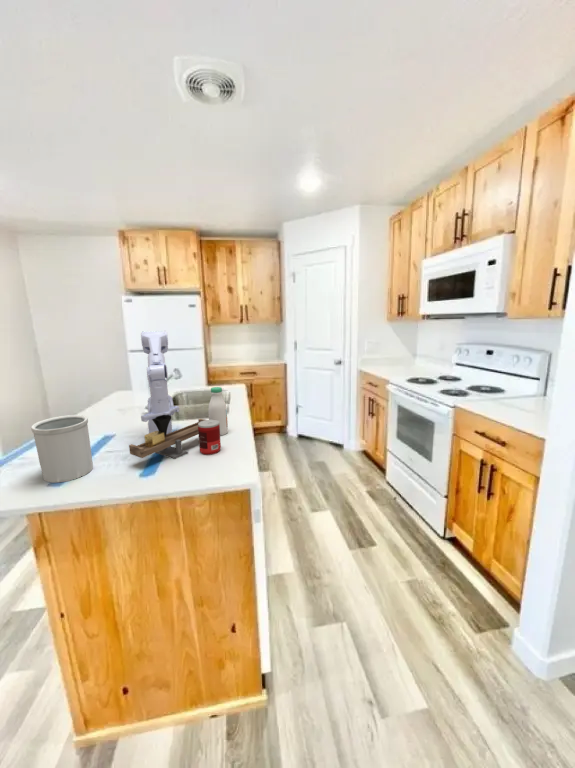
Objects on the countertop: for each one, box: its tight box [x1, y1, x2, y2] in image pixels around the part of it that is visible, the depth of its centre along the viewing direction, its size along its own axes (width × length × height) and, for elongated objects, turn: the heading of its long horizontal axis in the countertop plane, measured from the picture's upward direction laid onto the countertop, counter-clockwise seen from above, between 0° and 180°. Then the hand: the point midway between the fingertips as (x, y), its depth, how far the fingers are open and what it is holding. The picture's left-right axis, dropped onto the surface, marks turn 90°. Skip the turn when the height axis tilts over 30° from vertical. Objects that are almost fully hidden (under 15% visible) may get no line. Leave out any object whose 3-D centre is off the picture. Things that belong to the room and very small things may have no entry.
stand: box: [155, 440, 189, 460], centre depth 123 cm, size 11×6×6 cm, turn 58°
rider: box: [144, 431, 165, 447], centre depth 117 cm, size 4×5×4 cm
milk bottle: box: [207, 386, 229, 436], centre depth 142 cm, size 8×8×20 cm
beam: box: [128, 418, 206, 459], centre depth 124 cm, size 7×32×3 cm, turn 148°
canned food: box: [198, 419, 222, 455], centre depth 124 cm, size 8×8×11 cm
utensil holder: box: [30, 414, 94, 484], centre depth 107 cm, size 15×15×18 cm
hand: (163, 435), depth 119 cm, fingers closed
